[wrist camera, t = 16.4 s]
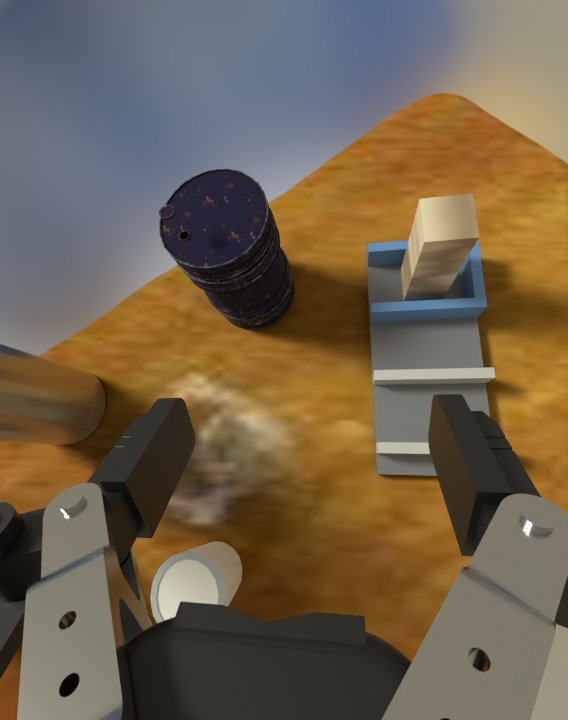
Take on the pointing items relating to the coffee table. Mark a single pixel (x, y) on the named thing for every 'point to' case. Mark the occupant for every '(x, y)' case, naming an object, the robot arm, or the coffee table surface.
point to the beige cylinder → (196, 579)
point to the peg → (438, 246)
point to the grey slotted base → (420, 356)
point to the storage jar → (229, 246)
